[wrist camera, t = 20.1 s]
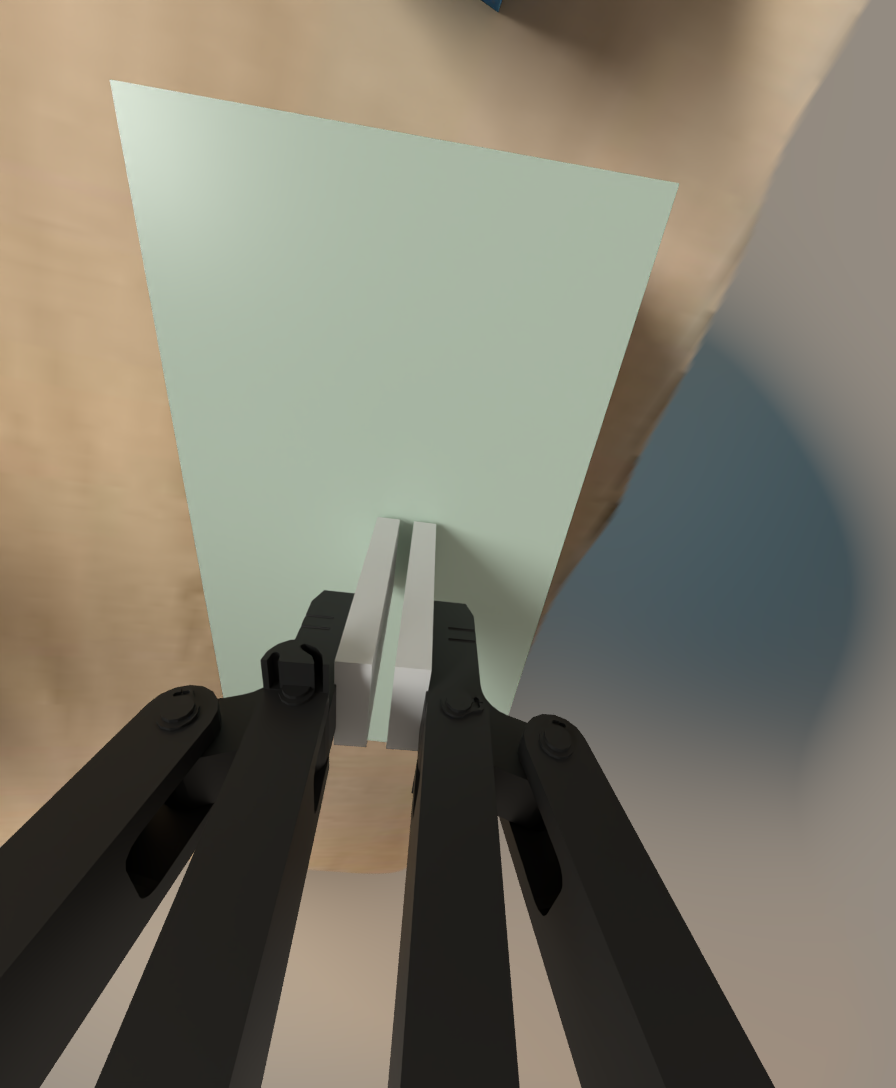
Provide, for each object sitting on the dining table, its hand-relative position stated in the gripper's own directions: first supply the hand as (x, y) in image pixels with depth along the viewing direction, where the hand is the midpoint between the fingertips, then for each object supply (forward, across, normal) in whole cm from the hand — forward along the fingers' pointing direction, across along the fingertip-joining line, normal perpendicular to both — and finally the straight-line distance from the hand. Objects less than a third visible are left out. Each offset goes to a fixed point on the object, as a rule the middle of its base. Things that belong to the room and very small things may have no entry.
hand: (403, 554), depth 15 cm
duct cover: (+1, -1, 0) cm, 2 cm away
